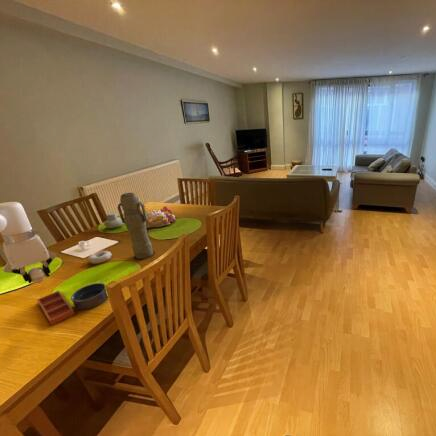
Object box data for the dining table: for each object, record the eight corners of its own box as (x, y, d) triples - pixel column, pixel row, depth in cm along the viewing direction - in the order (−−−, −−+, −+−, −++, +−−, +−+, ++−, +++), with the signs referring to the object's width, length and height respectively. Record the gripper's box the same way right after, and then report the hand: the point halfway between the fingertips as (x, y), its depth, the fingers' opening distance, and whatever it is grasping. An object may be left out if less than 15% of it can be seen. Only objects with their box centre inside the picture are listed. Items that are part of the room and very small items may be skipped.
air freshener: (126, 225, 169) (122, 212, 165) (115, 230, 162) (111, 216, 158) (114, 223, 172) (110, 210, 168) (103, 228, 165) (99, 214, 161)
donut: (98, 255, 132) (84, 265, 123) (96, 249, 131) (82, 259, 122) (116, 254, 133) (104, 264, 123) (114, 249, 131) (102, 258, 122)
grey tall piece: (155, 257, 130) (139, 195, 117) (130, 260, 127) (110, 197, 113) (158, 249, 138) (143, 190, 124) (134, 252, 134) (116, 192, 121)
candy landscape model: (178, 224, 171) (175, 212, 167) (140, 231, 159) (136, 219, 156) (173, 213, 190) (171, 202, 187) (139, 219, 179) (136, 208, 175)
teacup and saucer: (88, 243, 145) (85, 237, 143) (97, 245, 142) (95, 239, 141) (71, 250, 137) (69, 244, 136) (81, 252, 135) (78, 246, 133)
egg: (34, 287, 91) (27, 272, 88) (31, 282, 93) (24, 268, 91) (49, 281, 94) (43, 267, 92) (46, 277, 96) (40, 263, 94)
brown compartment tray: (51, 325, 87) (49, 321, 86) (39, 303, 97) (36, 299, 96) (75, 314, 92) (73, 309, 91) (60, 294, 102) (58, 290, 102)
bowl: (80, 314, 92) (76, 305, 90) (71, 302, 98) (67, 293, 96) (113, 298, 100) (110, 289, 98) (103, 288, 106) (100, 279, 104)
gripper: (48, 226, 95) (64, 265, 101) (-19, 242, 82) (5, 286, 89) (53, 230, 91) (69, 271, 97) (-16, 248, 78) (8, 293, 85)
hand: (38, 278), depth 93 cm, fingers closed on egg, 4 cm apart
